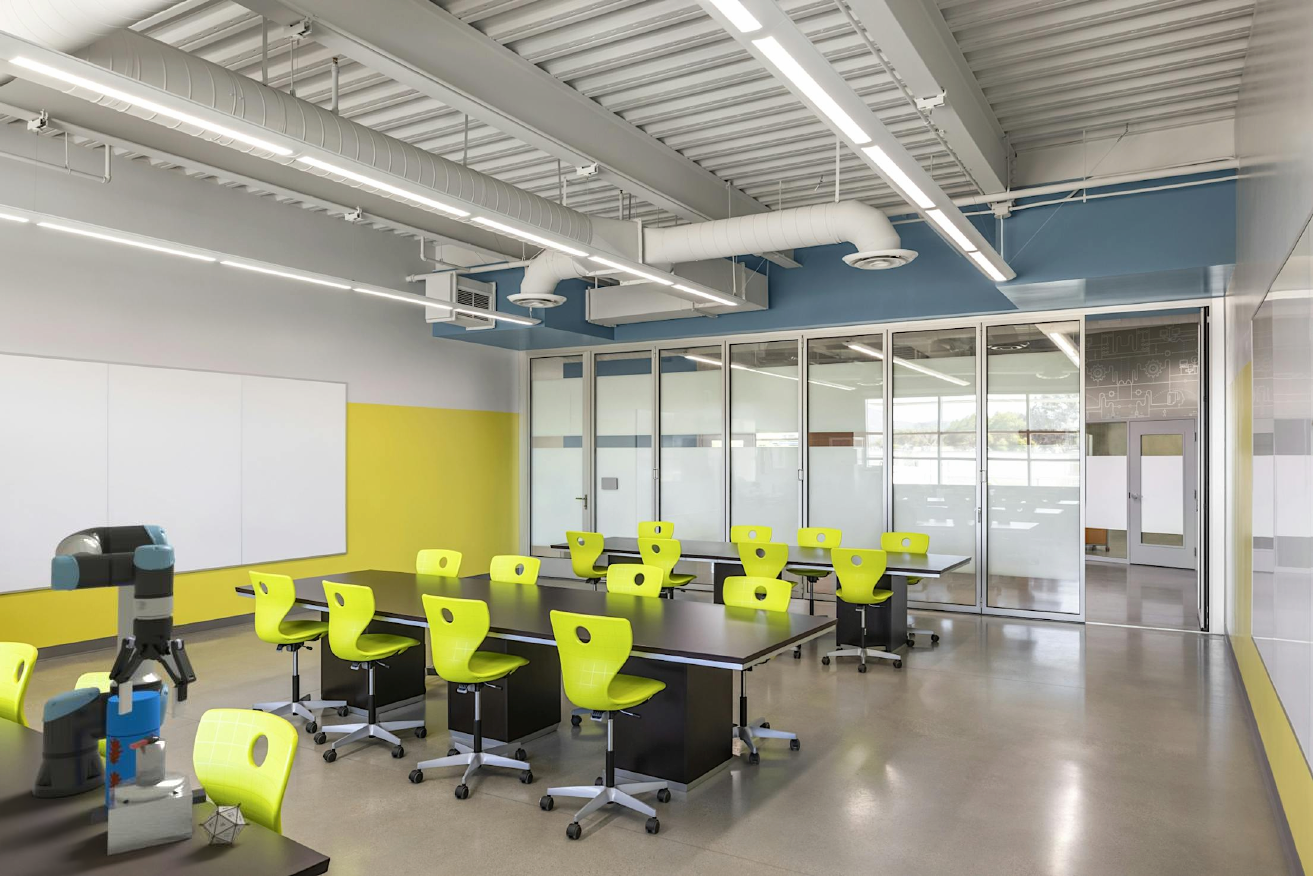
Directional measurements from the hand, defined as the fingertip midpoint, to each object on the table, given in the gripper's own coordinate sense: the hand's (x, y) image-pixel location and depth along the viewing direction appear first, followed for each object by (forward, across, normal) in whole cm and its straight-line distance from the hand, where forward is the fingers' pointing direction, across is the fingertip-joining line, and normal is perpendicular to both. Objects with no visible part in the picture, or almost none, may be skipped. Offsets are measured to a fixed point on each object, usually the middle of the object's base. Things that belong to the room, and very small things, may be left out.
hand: (151, 714), depth 181 cm
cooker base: (+25, 0, 0) cm, 25 cm away
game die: (+25, +20, -2) cm, 32 cm away
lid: (+19, 0, 0) cm, 19 cm away
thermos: (+26, -18, +14) cm, 34 cm away
